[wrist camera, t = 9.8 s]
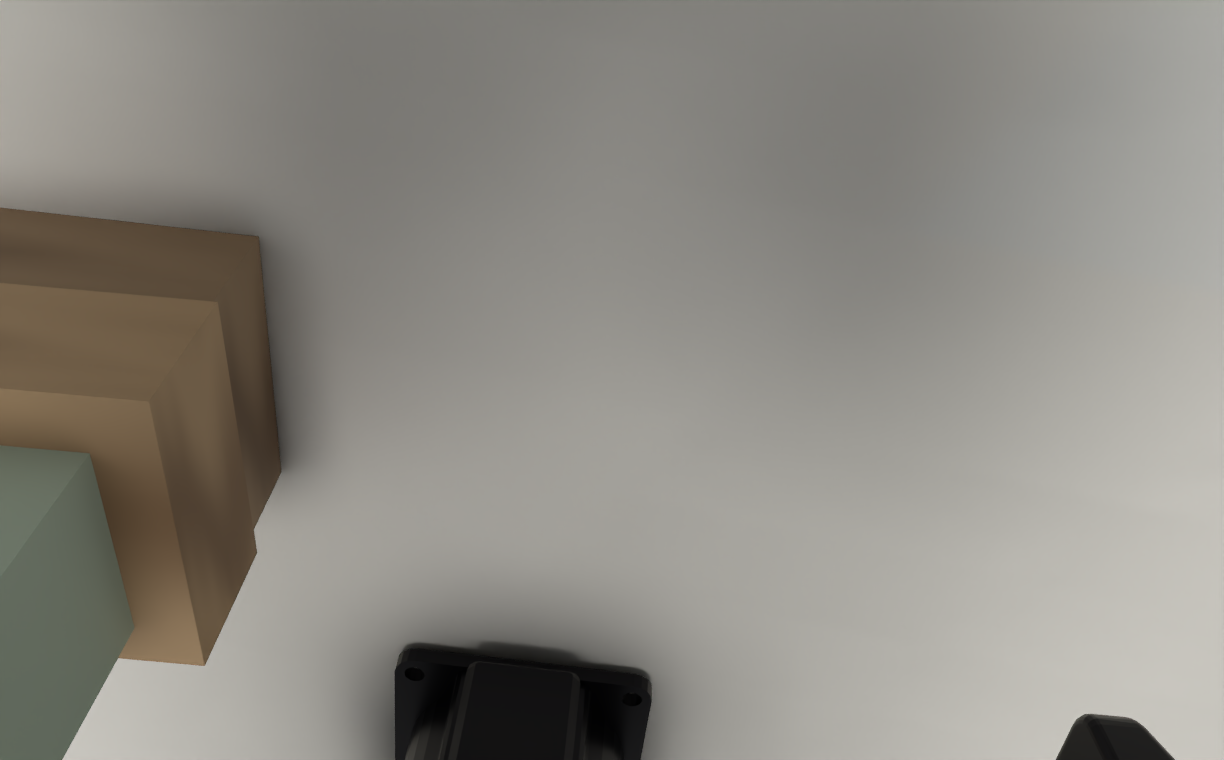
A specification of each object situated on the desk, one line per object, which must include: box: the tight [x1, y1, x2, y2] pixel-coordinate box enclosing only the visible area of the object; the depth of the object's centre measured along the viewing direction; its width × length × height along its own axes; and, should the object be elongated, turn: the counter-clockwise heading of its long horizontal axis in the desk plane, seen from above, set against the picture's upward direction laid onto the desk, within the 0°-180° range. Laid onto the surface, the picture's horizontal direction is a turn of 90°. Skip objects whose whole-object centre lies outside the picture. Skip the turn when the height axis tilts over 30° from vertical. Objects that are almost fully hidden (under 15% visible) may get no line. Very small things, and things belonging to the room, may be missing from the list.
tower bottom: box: [0, 208, 281, 530], centre depth 22 cm, size 6×6×3 cm
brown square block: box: [0, 283, 257, 666], centre depth 20 cm, size 6×6×3 cm
